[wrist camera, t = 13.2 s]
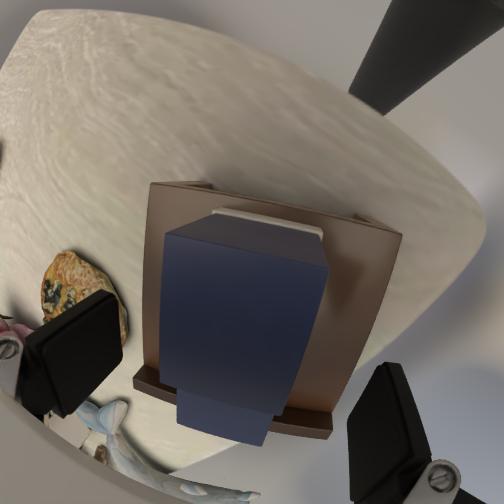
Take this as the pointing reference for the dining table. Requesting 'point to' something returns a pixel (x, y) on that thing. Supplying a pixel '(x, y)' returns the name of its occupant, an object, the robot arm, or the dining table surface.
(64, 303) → the bread roll
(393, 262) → the shoe shelf
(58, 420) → the beverage can
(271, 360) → the stepped navy blocks
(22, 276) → the dining table surface
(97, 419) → the sculpture
